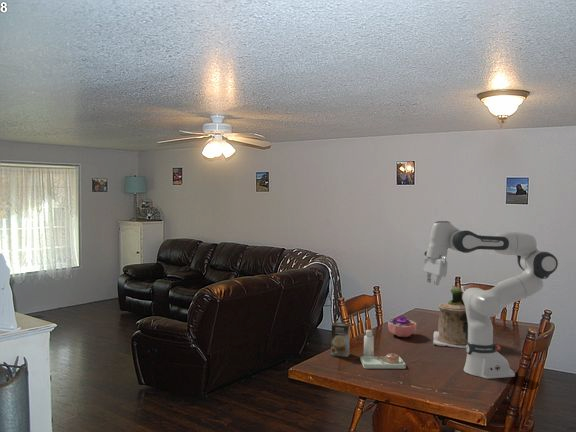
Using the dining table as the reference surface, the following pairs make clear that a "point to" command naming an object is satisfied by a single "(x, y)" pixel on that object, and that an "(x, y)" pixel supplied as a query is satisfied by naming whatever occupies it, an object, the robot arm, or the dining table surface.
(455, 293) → the cookie jar
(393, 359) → the sugar pot
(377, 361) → the tray
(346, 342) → the coffee box
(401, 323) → the cell model
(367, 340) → the bottle
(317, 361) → the dining table surface
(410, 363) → the dining table surface
